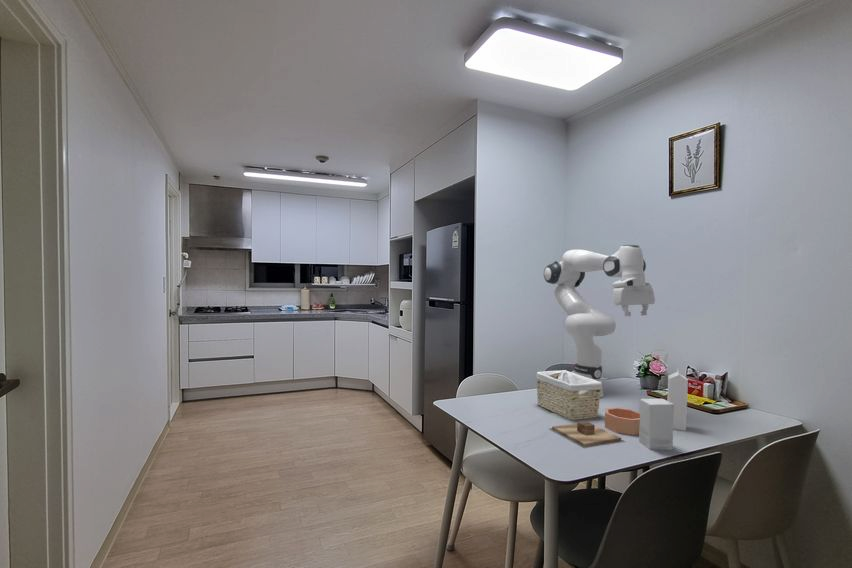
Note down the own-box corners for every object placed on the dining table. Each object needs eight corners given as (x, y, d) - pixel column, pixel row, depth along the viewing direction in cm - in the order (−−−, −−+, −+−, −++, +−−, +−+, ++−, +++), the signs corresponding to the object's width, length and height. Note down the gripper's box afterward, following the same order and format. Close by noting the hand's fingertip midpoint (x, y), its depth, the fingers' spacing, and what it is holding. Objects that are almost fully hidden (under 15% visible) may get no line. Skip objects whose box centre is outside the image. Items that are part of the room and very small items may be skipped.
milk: (667, 428, 157) (669, 370, 157) (666, 423, 163) (668, 367, 162) (686, 431, 155) (688, 372, 154) (684, 426, 160) (686, 368, 160)
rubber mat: (548, 430, 151) (548, 428, 151) (586, 425, 158) (587, 423, 158) (583, 450, 135) (583, 448, 135) (625, 443, 141) (625, 441, 141)
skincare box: (661, 443, 142) (663, 398, 142) (673, 451, 135) (675, 404, 135) (637, 443, 142) (639, 397, 141) (648, 451, 135) (650, 403, 135)
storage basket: (533, 404, 183) (534, 370, 183) (563, 401, 188) (565, 369, 188) (569, 422, 160) (570, 384, 160) (603, 419, 166) (604, 382, 166)
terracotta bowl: (596, 425, 158) (597, 409, 158) (622, 421, 163) (623, 406, 163) (625, 438, 146) (625, 421, 146) (652, 434, 151) (652, 417, 151)
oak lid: (552, 429, 151) (552, 418, 151) (586, 424, 157) (587, 414, 157) (584, 446, 136) (584, 434, 136) (621, 440, 142) (621, 429, 142)
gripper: (644, 283, 181) (646, 315, 180) (609, 283, 173) (612, 316, 172) (657, 281, 175) (660, 314, 174) (622, 282, 167) (624, 316, 166)
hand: (636, 315), depth 173 cm, fingers open, 8 cm apart
